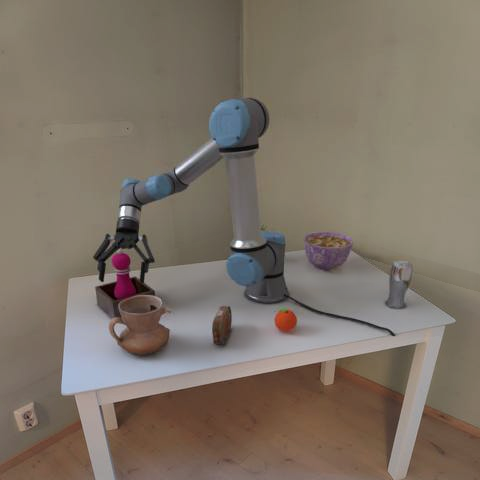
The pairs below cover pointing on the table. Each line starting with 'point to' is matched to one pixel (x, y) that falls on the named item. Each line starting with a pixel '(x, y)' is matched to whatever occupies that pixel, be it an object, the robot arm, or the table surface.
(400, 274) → the beer glass
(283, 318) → the clementine
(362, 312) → the table surface
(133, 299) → the ceramic jug
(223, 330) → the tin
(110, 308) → the box
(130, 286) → the pepper mill
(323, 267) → the bowl of food
